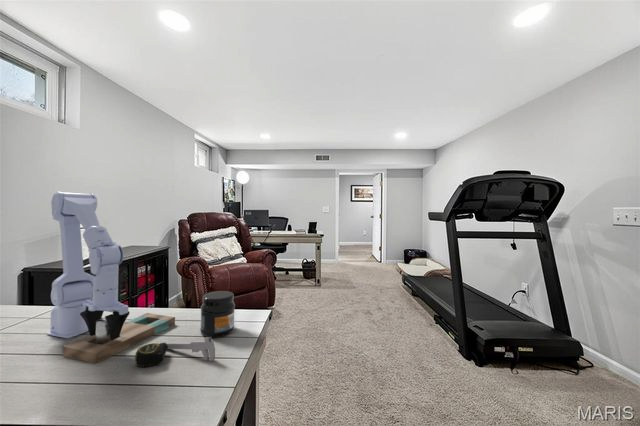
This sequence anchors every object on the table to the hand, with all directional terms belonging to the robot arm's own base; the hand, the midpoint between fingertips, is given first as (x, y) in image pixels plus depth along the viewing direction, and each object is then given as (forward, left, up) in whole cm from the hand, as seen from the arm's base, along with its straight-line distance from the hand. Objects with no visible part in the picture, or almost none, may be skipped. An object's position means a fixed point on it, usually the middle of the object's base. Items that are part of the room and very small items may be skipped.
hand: (104, 336), depth 79 cm
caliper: (+23, +5, -4) cm, 24 cm away
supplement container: (+23, +20, -3) cm, 30 cm away
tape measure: (+18, -1, -4) cm, 19 cm away
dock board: (0, +7, -3) cm, 7 cm away
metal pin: (0, 0, -3) cm, 3 cm away
